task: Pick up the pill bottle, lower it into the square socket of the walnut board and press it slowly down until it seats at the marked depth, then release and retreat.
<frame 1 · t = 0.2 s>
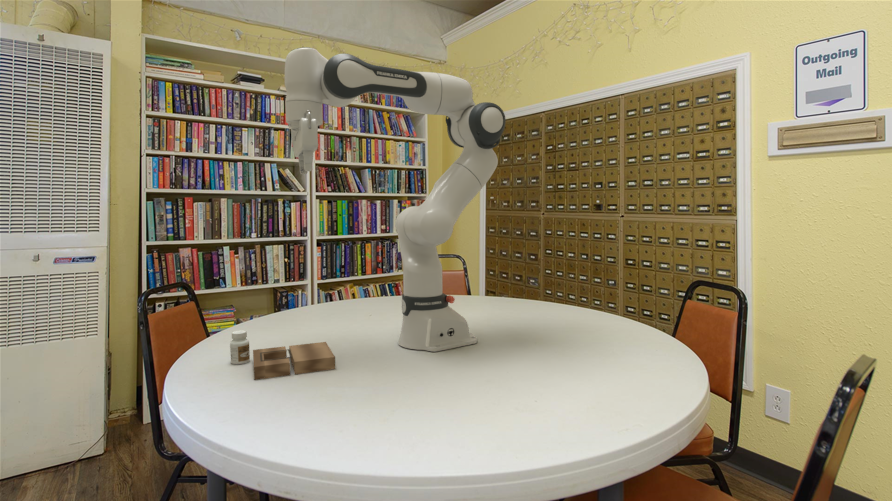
hand: (305, 172, 118), 47 cm above the table, fingers open, 8 cm apart
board: (293, 365, 116), on the table
pill bottle: (240, 362, 119), on the table
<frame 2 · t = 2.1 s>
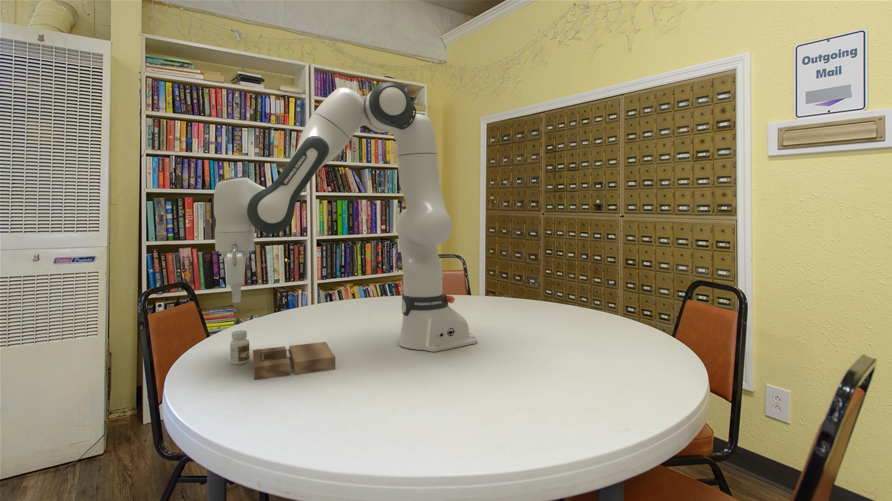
hand: (237, 298, 117), 16 cm above the table, fingers open, 8 cm apart
nothing on the table moved.
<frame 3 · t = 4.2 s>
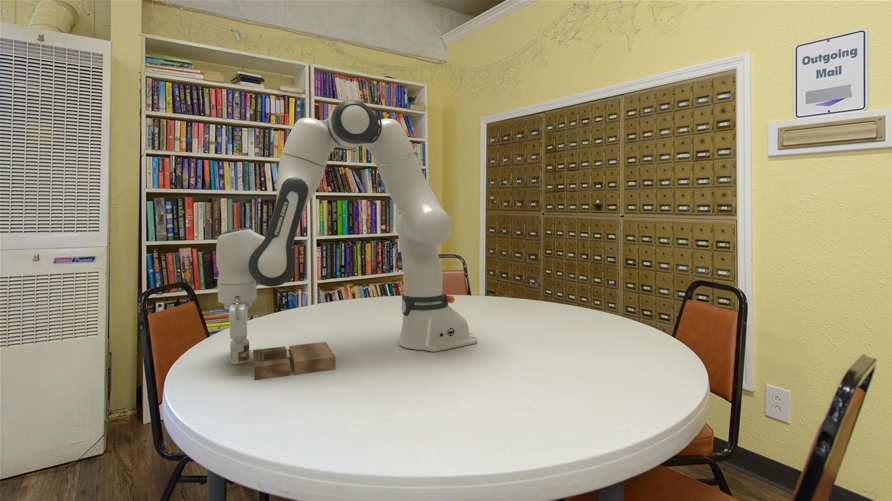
hand: (240, 347, 118), 4 cm above the table, fingers closed on pill bottle, 4 cm apart
pill bottle: (240, 362, 119), on the table, touching gripper
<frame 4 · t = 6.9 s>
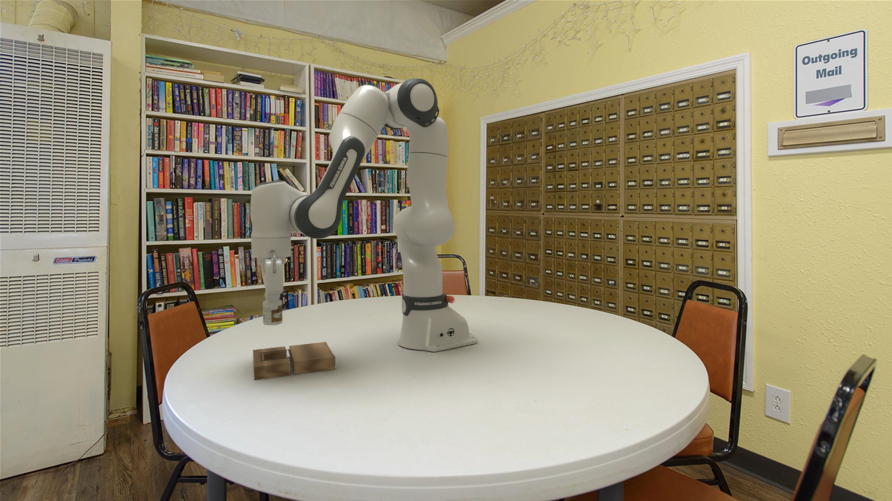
hand: (273, 306, 113), 15 cm above the table, fingers closed on pill bottle, 4 cm apart
pill bottle: (272, 324, 113), point 11 cm above the table, touching gripper
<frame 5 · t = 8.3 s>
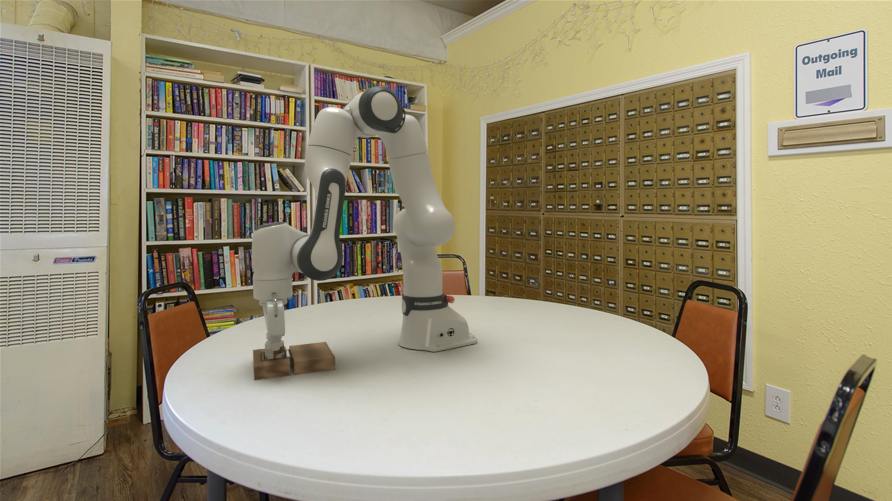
hand: (275, 346, 114), 5 cm above the table, fingers closed on pill bottle, 4 cm apart
pill bottle: (274, 364, 114), point 1 cm above the table, touching gripper
when the fingers open (4 cm above the table, at t = 9.7 s): pill bottle stays where it is, resting in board.
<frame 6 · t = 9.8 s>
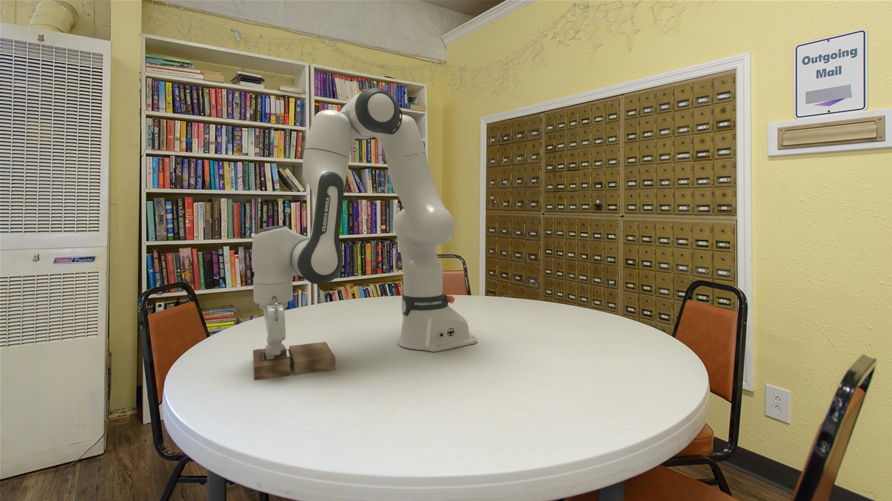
hand: (275, 350, 114), 4 cm above the table, fingers open, 5 cm apart
pill bottle: (275, 368, 114), resting in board
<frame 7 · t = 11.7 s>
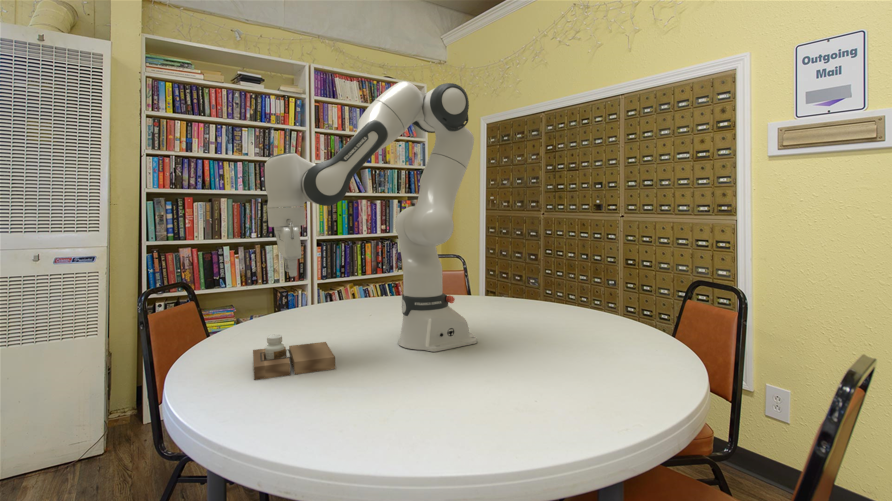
hand: (291, 273, 119), 22 cm above the table, fingers open, 8 cm apart
nothing on the table moved.
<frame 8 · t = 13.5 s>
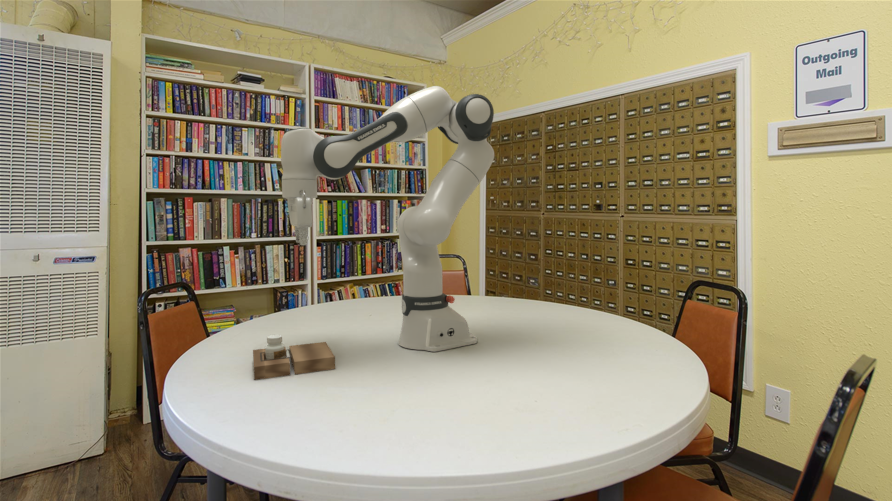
hand: (301, 243, 125), 29 cm above the table, fingers open, 8 cm apart
nothing on the table moved.
at the end: pill bottle 0.1 cm from the target spot on the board, point 0.0 cm above the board's base; pill bottle tilted 0°; the gripper is holding nothing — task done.
